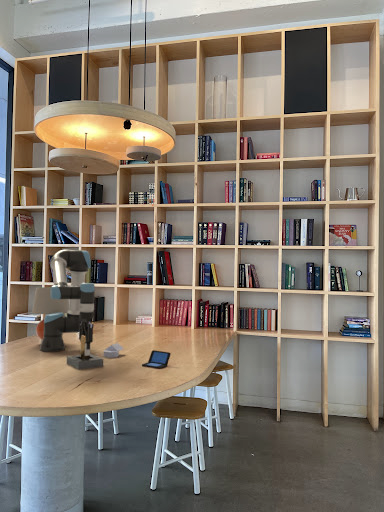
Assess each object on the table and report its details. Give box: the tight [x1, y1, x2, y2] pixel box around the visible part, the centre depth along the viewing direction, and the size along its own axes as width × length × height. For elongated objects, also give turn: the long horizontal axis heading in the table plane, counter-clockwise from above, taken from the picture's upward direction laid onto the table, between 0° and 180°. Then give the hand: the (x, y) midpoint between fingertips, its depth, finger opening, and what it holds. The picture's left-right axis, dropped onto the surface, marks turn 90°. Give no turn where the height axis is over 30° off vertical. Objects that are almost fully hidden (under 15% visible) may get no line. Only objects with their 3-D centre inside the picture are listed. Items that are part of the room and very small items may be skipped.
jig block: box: [66, 353, 104, 370], centre depth 226 cm, size 16×14×4 cm
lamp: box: [31, 286, 70, 344], centre depth 289 cm, size 25×25×39 cm
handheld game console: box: [141, 349, 172, 370], centre depth 229 cm, size 12×11×7 cm
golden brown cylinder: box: [79, 335, 90, 359], centre depth 226 cm, size 5×5×12 cm
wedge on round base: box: [103, 342, 125, 359], centre depth 254 cm, size 9×7×13 cm
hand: (85, 354), depth 226 cm, fingers closed on golden brown cylinder, 5 cm apart
